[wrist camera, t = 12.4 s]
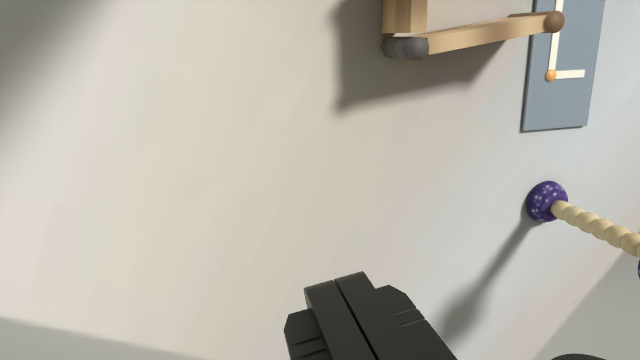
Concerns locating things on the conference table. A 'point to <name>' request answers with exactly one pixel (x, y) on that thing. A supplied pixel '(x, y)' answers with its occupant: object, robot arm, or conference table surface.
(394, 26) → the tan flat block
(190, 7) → the conference table surface
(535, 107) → the card
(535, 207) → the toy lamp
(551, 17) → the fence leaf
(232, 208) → the conference table surface
